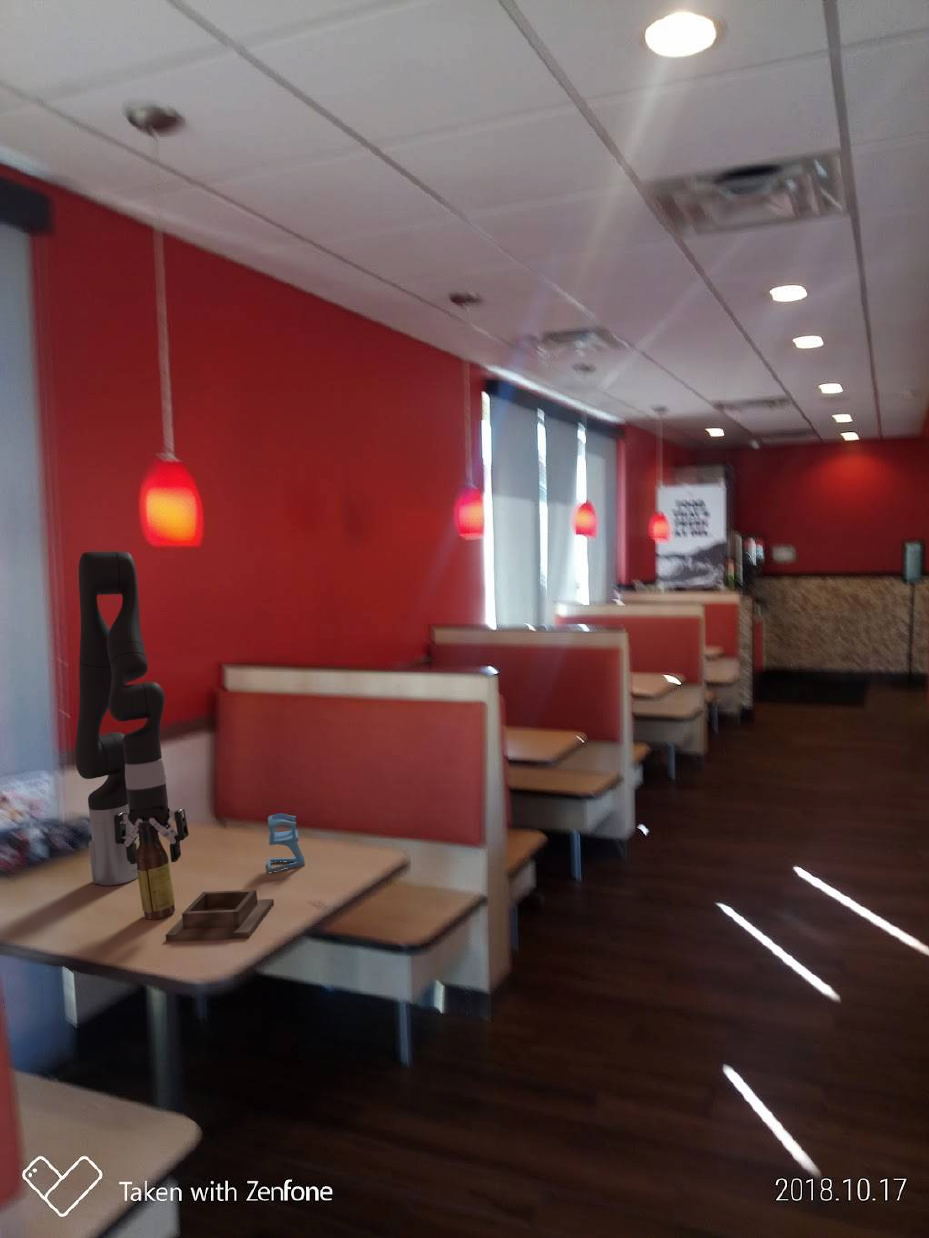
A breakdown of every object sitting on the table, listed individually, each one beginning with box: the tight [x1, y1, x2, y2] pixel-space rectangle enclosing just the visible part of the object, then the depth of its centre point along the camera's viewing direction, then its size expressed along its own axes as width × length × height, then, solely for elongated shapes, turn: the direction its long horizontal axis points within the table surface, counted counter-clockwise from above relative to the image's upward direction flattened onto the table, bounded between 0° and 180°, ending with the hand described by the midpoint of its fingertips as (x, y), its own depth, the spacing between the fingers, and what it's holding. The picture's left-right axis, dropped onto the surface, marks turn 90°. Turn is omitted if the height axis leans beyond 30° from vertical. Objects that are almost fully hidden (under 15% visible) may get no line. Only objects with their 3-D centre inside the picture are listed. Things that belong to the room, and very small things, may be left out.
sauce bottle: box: [136, 821, 176, 920], centre depth 188 cm, size 6×6×20 cm
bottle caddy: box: [164, 889, 275, 942], centre depth 183 cm, size 16×16×4 cm
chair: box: [267, 813, 306, 873], centre depth 213 cm, size 8×8×12 cm
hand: (154, 861), depth 188 cm, fingers open, 8 cm apart
